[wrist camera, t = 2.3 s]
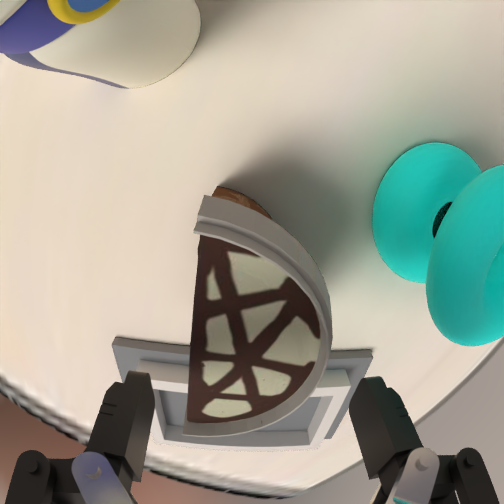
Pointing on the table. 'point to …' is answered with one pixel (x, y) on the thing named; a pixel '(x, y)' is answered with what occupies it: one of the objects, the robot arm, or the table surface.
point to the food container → (252, 321)
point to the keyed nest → (262, 440)
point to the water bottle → (101, 37)
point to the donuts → (447, 237)
